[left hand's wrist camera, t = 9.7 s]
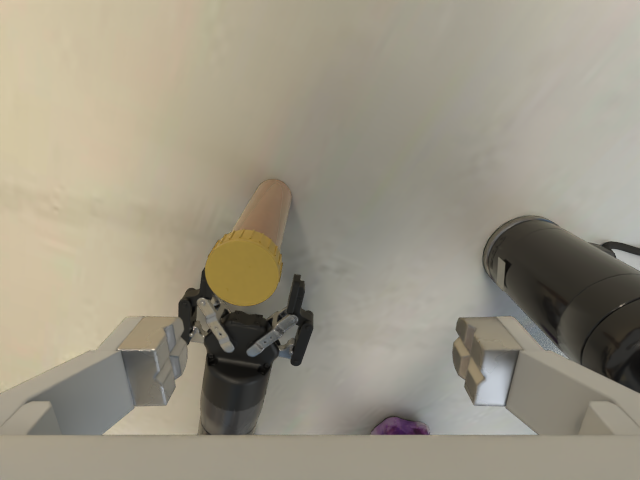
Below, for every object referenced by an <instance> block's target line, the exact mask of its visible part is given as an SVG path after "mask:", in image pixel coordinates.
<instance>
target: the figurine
mask: <svg viewBox="0 0 640 480" xmlns="http://www.w3.org/2000/svg"><path fill="white" fill-rule="evenodd" d="M371 435H430V429H429V427H428V426H427V425H426V424H424V423H422V422H418V421H417V422H413V421H407V420H404V419H401V418H398V417H395V416H394V417H389V418H387V419H385V420H384V421H383V422H382V423H380V424H379V425H378V426H377V427H375V429H374V430H373V431H371Z"/></svg>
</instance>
